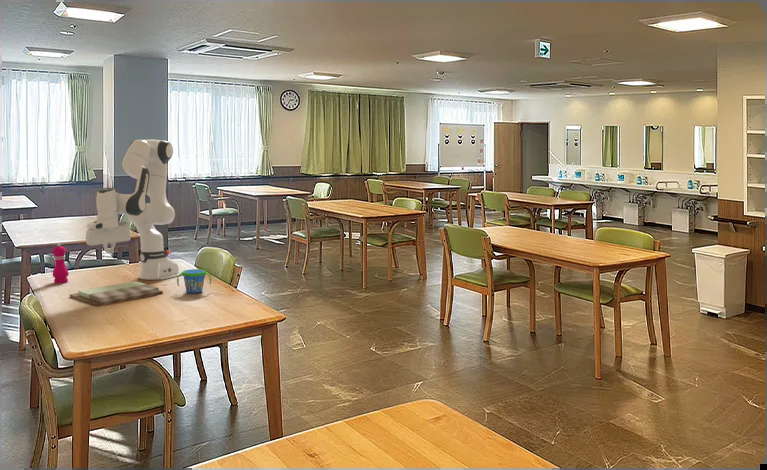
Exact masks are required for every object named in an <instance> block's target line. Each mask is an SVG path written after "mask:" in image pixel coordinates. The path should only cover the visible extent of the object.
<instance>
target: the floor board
mask: <svg viewBox="0 0 767 470" xmlns="http://www.w3.org/2000/svg"><path fill="white" fill-rule="evenodd" d="M162 294H164V293H163V290H160V288H159V287H157V286H154V285H150V284H147V285H142V286H136V287H130V288H124V289H118V290H113V291H107V292H101V293H95V294H89V298H86V297H83V296H80V295H79V292H76V293H70V294H69V297H70V298H71V297H72V298H71V299H74V298H75V300H77V299H78V300H77V301H80V300H81V301H80V302H83V303H85V304H89V305H92V306H95V307H99V306H104V305H109V304H115V303H120V302H126V301H130V300H136V299H142V298H146V297H153V296H158V295H162Z"/></svg>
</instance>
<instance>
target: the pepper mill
mask: <svg viewBox="0 0 767 470" xmlns="http://www.w3.org/2000/svg"><path fill="white" fill-rule="evenodd" d="M66 253H67V250H66V247H65V246H62V244H61V243H59V242H58V243H56V246H55V247H53V248H52V254H53V258H54V262H55V263H54V268H53V270H52V277H53V278H54V279H53V283H54V282H55V283H54V284H56V283H62V284H66V283H65V282H67V283H69V278H68V276H69V270H68V268H67V266H66V263H65V259H66V255H65V254H66Z"/></svg>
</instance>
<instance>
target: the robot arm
mask: <svg viewBox="0 0 767 470" xmlns="http://www.w3.org/2000/svg"><path fill="white" fill-rule="evenodd" d="M173 148H174V147H173V145H172V144H171V142H170V141H167V140H164V139H162V140H160V139H153V138H152V139H136V140H132V141H131V142H130V144H129V146H128V149H127V151H126V152H125V155H124V157H123V160H122V163H121V164H122V165H121V166H122V169H123V171H124V172H125V173H126V174H127V175H128V176H129V177H131V178H133V179H135V180H136V185H135V190H134V192H133V193H130V194H128V193H119V192H117V191H116V190H115V188H113V187H102V188H100V189H98V190H97V192H96V202H95V203H96V210H97V215H96V216H97V219H95V220H93V221H90V222H88V223H87V224H86V228H87V229H86V232H85V244H86V245H88V246H90V247H92V246H99V245H102V247H103V249H105V254H112V253H114V249H115V247H116V245H117V243H122V242H123V243H124V242H129V241H131V238H132V237H131V231H130V230H131V228H130V227H131V226H130V223H129V222H127V221H119V215H126V217H127V218H128V220H129V221H130V222H131V223H132V224H133V225H134V227H135V228H136V230H137V232H138V234H139V238H140V239H139V240H140V254H139V255H140V257H139V258H140V271H139V277H138V278H139V279H140V280H148V281H149V280H151V281H152V280H166V279H172V278H176V277H178V275H179V274H180V273H182V272H183V271H181V270H180V269H179V268H180V267H179V265H178V263H177V262H176V261H175V260H173V259H171V258H170V257H169V256H168V255H171V253H172V252H171V251H170V250H165V249H164V237H163V234H162V233H161V232H160V231H158V229H156V227H155V225H161V226H163V225H170V224H171V223H173V221H174V219H175V217H176V211H175V209H174V207H173V206H172V205H171V204H170V203H169V201H168V198H167V193H166V189H167V180H168V162H169V161H170V160H171V159H172V156H173V154H174V149H173ZM147 196H148V197H149V199H150V200H149V203H148V202H147ZM109 244H110V248H109ZM180 276H183V275H182V274H181V275H180ZM180 276H179V277H180Z"/></svg>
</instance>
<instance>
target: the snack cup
mask: <svg viewBox="0 0 767 470" xmlns="http://www.w3.org/2000/svg"><path fill="white" fill-rule="evenodd" d="M181 272H182V273H180V274H179V275H178V276H177V279H176V282H177V283H176V284H177V286H180V283H179V280H180V279H179V277H180V275H181V274H182V275H181V276H183V281H184V282H183V283H184V287H185V291H186V293H187V294H199V293H202V292H203V291H204V290H203V289H204V284H205V283H204V282H205V279H206V278H205V277H206V275H208V277H209V285H212V284H211V283H212V276H211V274H210V273H209V272H208V271H206V270H205V269H198V268H197V269H185V270H182V271H181Z"/></svg>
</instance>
